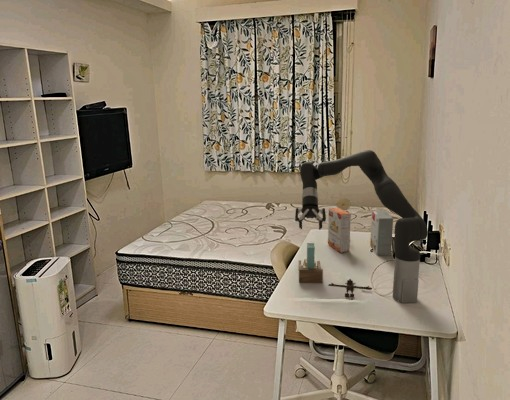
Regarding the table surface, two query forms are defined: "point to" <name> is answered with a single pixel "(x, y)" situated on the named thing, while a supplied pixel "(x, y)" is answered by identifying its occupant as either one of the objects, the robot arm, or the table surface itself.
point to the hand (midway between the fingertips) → (310, 228)
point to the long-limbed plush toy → (350, 287)
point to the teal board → (310, 255)
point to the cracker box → (339, 229)
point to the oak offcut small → (306, 262)
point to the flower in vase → (343, 204)
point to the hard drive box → (381, 232)
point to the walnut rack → (310, 274)
